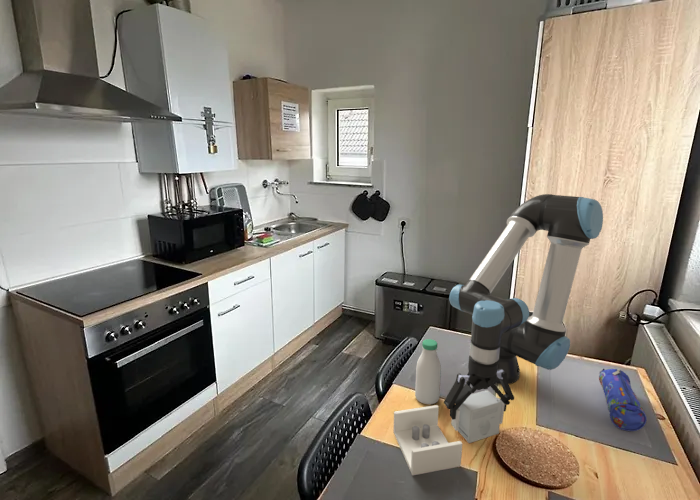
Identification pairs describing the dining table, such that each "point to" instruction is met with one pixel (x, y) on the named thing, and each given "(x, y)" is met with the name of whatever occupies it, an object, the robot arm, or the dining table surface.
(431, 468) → the peg frame
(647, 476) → the dining table surface
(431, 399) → the milk bottle
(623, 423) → the pencil case
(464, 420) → the skincare box
